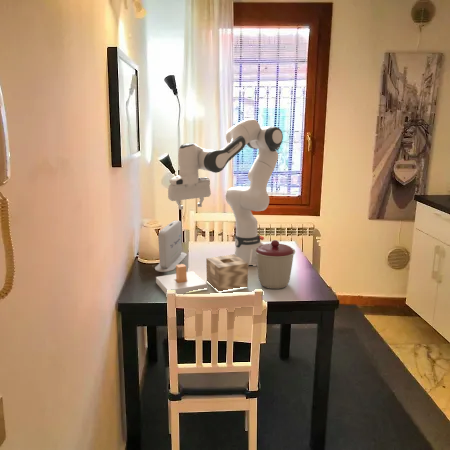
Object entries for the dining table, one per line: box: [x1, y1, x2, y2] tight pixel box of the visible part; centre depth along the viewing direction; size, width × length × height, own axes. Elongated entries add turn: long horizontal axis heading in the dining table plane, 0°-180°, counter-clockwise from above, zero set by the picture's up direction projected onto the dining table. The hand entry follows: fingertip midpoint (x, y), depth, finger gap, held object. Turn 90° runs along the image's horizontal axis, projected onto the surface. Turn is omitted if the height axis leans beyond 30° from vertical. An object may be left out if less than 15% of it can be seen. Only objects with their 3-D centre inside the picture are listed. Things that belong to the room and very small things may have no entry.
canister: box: [255, 239, 296, 290], centre depth 208 cm, size 18×18×21 cm
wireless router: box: [154, 220, 187, 273], centre depth 240 cm, size 31×10×20 cm, turn 168°
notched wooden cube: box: [205, 253, 249, 291], centre depth 208 cm, size 14×14×12 cm
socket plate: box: [155, 270, 208, 295], centre depth 208 cm, size 18×18×3 cm
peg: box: [175, 263, 187, 283], centre depth 208 cm, size 4×4×10 cm
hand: (190, 208), depth 217 cm, fingers open, 8 cm apart
